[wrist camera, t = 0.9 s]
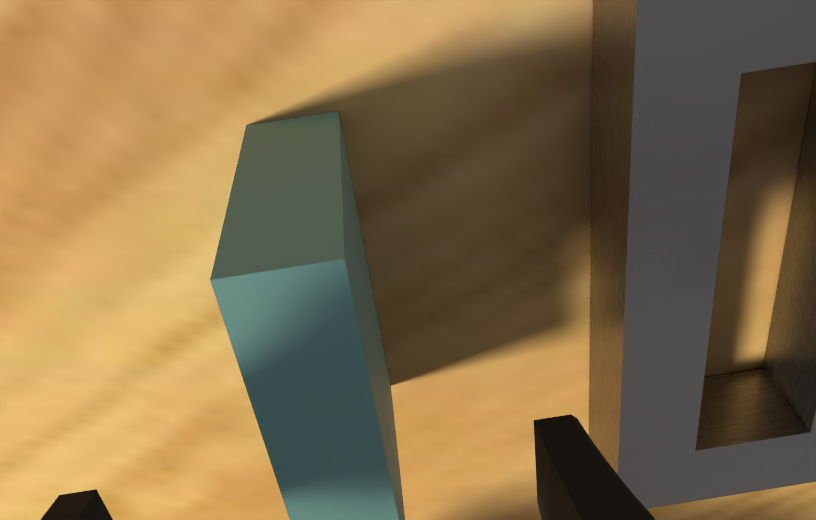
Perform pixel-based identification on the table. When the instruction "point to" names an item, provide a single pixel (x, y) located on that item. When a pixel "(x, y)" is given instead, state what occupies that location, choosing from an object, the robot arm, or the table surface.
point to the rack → (692, 253)
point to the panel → (308, 322)
